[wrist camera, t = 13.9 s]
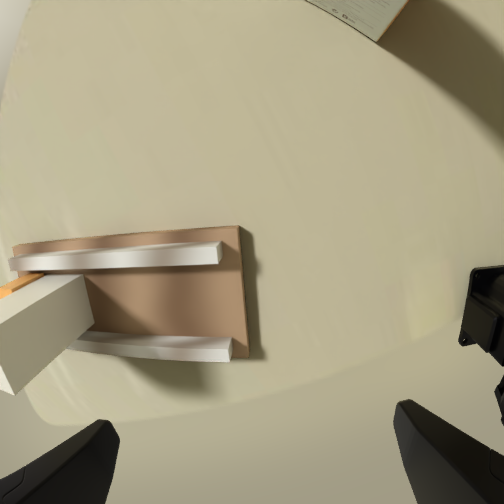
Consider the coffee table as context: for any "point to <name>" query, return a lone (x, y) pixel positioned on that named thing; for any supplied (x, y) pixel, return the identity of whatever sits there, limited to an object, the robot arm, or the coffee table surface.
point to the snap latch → (19, 283)
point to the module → (40, 326)
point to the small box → (364, 13)
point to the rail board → (154, 291)
